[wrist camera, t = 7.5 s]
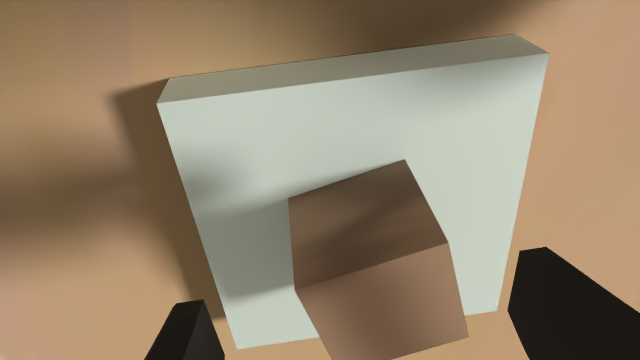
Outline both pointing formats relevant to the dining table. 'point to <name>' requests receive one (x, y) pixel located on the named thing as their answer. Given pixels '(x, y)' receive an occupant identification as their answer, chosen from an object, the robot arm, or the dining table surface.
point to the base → (353, 160)
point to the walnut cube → (374, 267)
